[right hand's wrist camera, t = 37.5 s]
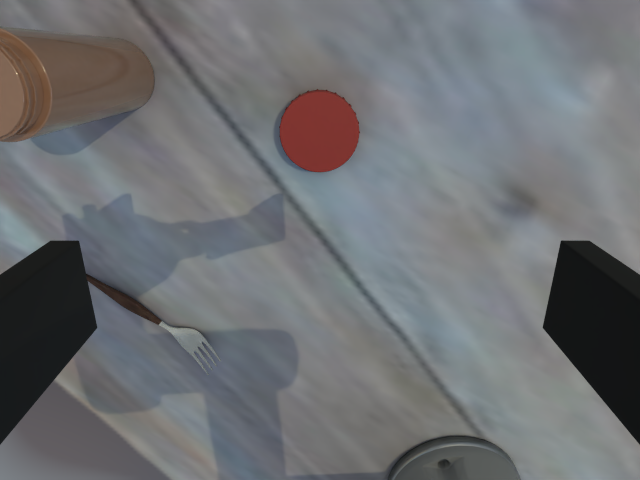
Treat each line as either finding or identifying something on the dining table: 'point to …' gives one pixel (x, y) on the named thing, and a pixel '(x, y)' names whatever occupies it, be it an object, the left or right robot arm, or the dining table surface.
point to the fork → (160, 323)
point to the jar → (66, 80)
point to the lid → (319, 131)
